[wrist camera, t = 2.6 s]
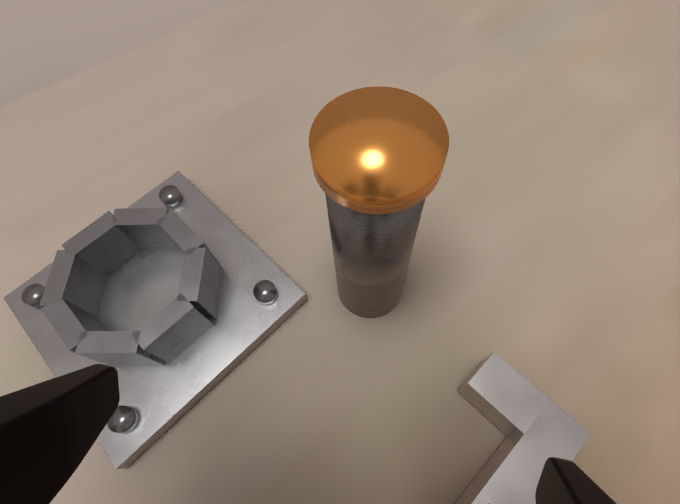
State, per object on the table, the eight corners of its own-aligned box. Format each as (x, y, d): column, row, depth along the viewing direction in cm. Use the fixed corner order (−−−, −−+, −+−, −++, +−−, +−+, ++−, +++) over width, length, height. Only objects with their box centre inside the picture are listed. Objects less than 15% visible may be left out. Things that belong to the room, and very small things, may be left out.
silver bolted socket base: (307, 299, 24) (297, 272, 20) (126, 468, 20) (76, 470, 17) (184, 180, 28) (158, 138, 24) (16, 303, 24) (-43, 277, 21)
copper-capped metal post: (421, 286, 24) (477, 134, 12) (371, 339, 23) (382, 222, 11) (368, 241, 25) (374, 67, 14) (317, 288, 24) (280, 139, 13)
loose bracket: (566, 436, 20) (591, 433, 18) (462, 581, 18) (476, 599, 16) (480, 361, 22) (494, 351, 20) (375, 485, 19) (377, 489, 17)
